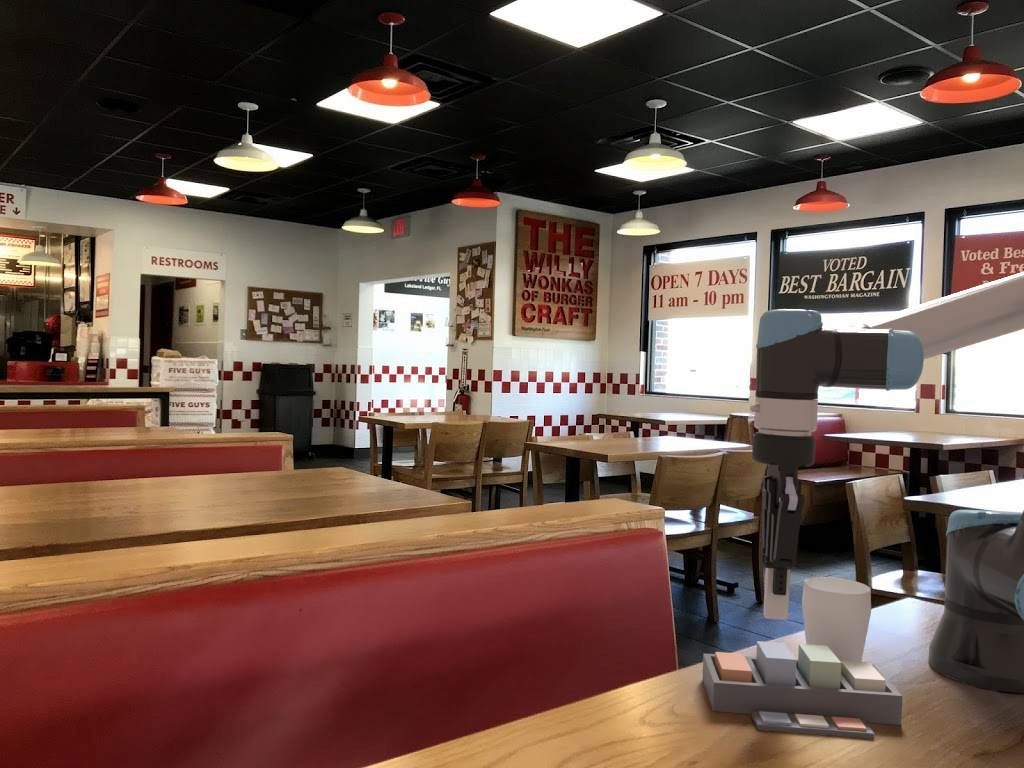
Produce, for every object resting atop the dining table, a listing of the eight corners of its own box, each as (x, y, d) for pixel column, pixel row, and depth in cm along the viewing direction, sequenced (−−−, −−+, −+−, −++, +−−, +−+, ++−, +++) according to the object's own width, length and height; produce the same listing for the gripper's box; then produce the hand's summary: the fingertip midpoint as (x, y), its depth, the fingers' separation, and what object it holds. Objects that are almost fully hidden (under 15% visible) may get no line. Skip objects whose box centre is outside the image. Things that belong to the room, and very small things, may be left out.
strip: (863, 724, 95) (864, 717, 95) (874, 738, 91) (874, 730, 91) (751, 716, 96) (752, 708, 96) (757, 729, 93) (757, 722, 93)
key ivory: (868, 689, 103) (869, 662, 103) (884, 708, 97) (885, 680, 97) (839, 686, 104) (840, 660, 103) (853, 706, 98) (855, 678, 98)
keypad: (872, 691, 105) (873, 664, 105) (901, 725, 95) (902, 696, 95) (702, 679, 107) (703, 653, 107) (712, 711, 98) (714, 682, 97)
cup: (875, 685, 107) (879, 596, 107) (804, 678, 109) (808, 591, 109) (860, 661, 116) (863, 579, 116) (795, 655, 118) (798, 574, 117)
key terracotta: (742, 680, 105) (743, 653, 105) (750, 698, 99) (751, 671, 99) (714, 678, 105) (715, 651, 105) (721, 696, 99) (722, 669, 99)
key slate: (784, 669, 104) (785, 643, 104) (795, 687, 98) (796, 659, 98) (756, 667, 105) (757, 641, 105) (765, 685, 99) (766, 657, 99)
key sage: (826, 672, 104) (827, 645, 104) (840, 691, 98) (841, 662, 98) (797, 670, 104) (798, 643, 104) (809, 688, 98) (810, 660, 98)
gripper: (744, 427, 108) (736, 600, 108) (764, 435, 95) (755, 632, 95) (801, 429, 107) (793, 604, 107) (829, 438, 94) (820, 637, 94)
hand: (775, 617), depth 101 cm, fingers closed
